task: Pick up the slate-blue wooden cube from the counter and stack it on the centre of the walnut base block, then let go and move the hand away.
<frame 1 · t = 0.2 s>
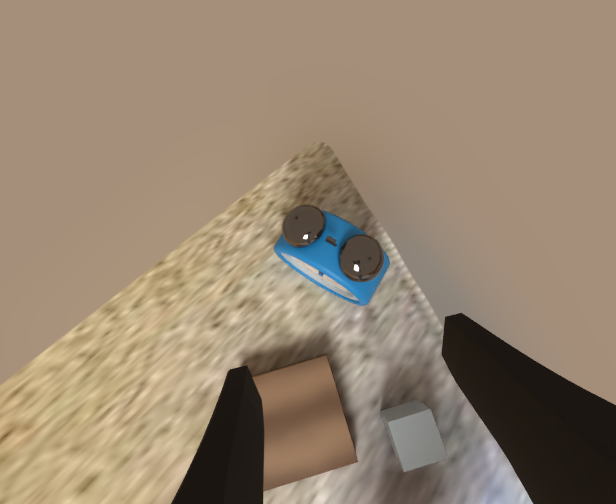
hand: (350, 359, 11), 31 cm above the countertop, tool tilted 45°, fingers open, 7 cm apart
alarm clock: (330, 268, 43), on the countertop
walnut base: (295, 414, 39), on the countertop
slate cube: (406, 425, 38), on the countertop
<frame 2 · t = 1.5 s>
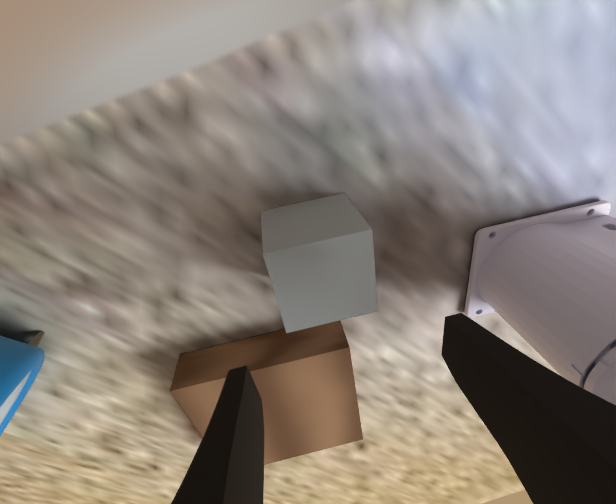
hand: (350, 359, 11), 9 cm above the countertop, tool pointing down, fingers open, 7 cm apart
walnut base: (278, 384, 25), on the countertop
slate cube: (309, 238, 19), on the countertop
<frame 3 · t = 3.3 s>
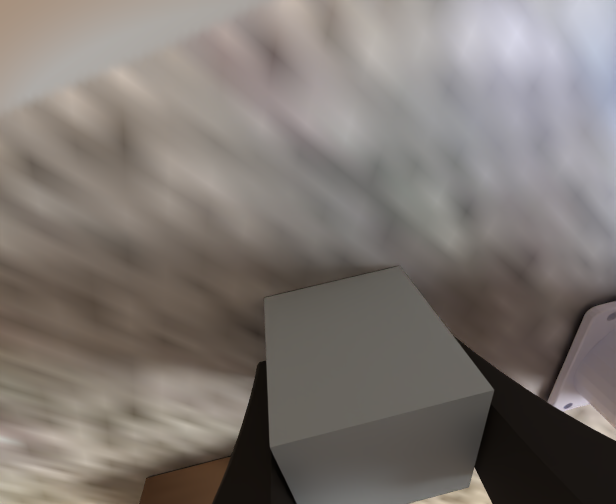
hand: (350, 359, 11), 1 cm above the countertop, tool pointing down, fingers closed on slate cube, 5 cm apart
walnut base: (286, 496, 19), on the countertop
slate cube: (340, 330, 12), on the countertop, touching gripper
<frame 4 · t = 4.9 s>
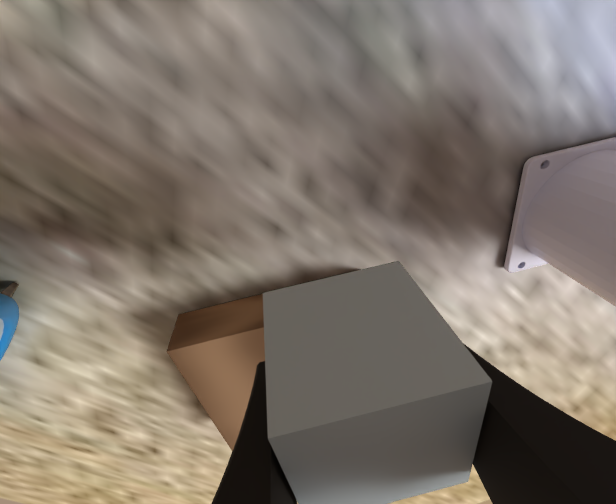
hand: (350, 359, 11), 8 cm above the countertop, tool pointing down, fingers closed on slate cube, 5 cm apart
walnut base: (290, 353, 22), on the countertop
slate cube: (339, 326, 12), point 7 cm above the countertop, touching gripper
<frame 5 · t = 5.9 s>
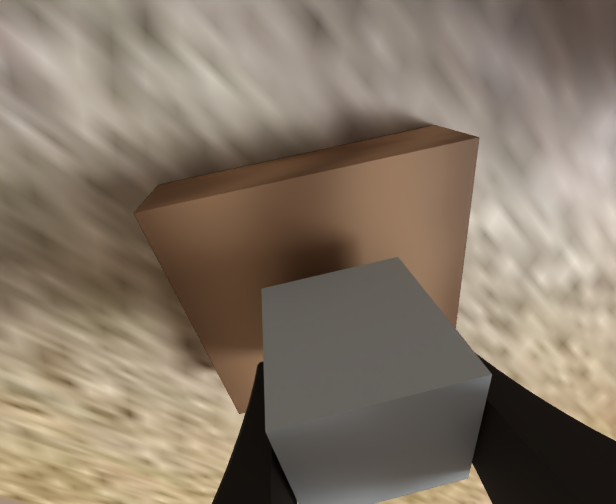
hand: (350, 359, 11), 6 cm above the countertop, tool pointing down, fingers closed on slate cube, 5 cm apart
walnut base: (320, 268, 16), on the countertop
slate cube: (338, 322, 12), point 4 cm above the countertop, touching gripper
when the fingers open (5 cm above the countertop, at t = 6.5 s): slate cube stays where it is, resting on walnut base.
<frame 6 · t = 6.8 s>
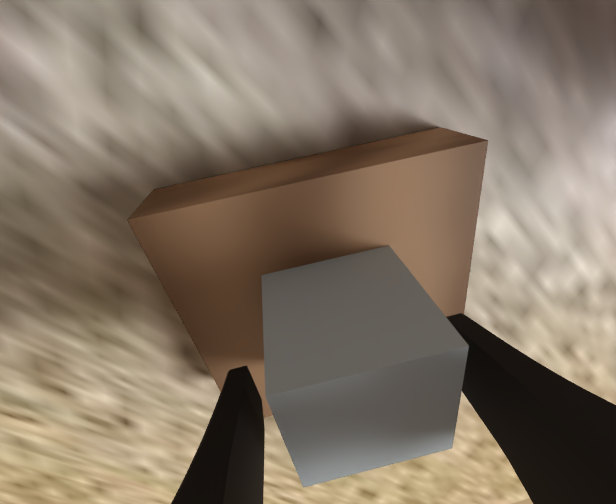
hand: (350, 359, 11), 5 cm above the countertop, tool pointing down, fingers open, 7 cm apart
walnut base: (321, 274, 15), on the countertop
slate cube: (334, 308, 13), point 3 cm above the countertop, touching walnut base
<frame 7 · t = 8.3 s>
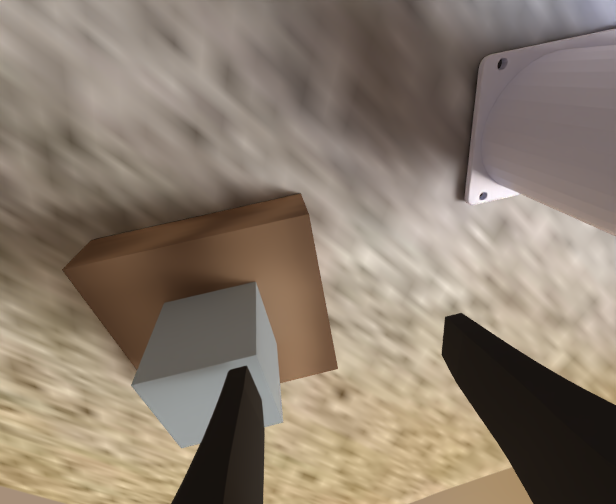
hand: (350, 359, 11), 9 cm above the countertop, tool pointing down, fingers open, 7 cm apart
walnut base: (230, 296, 20), on the countertop
slate cube: (224, 325, 17), point 3 cm above the countertop, touching walnut base
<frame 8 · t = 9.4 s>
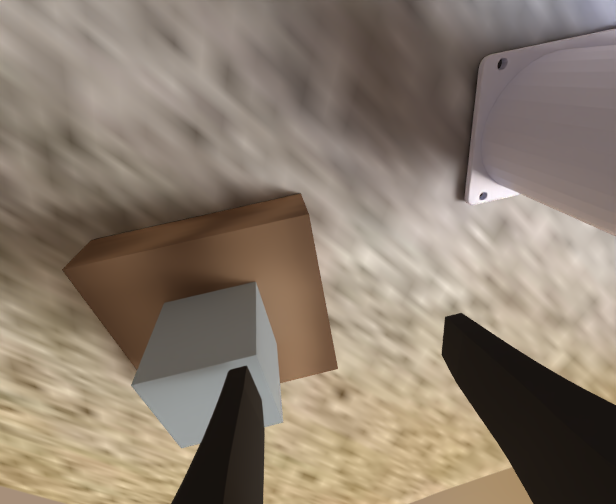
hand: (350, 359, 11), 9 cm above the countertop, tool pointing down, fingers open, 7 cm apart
walnut base: (230, 296, 20), on the countertop
slate cube: (224, 325, 17), point 3 cm above the countertop, touching walnut base
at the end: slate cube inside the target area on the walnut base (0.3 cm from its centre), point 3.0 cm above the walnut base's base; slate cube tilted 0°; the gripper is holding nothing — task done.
